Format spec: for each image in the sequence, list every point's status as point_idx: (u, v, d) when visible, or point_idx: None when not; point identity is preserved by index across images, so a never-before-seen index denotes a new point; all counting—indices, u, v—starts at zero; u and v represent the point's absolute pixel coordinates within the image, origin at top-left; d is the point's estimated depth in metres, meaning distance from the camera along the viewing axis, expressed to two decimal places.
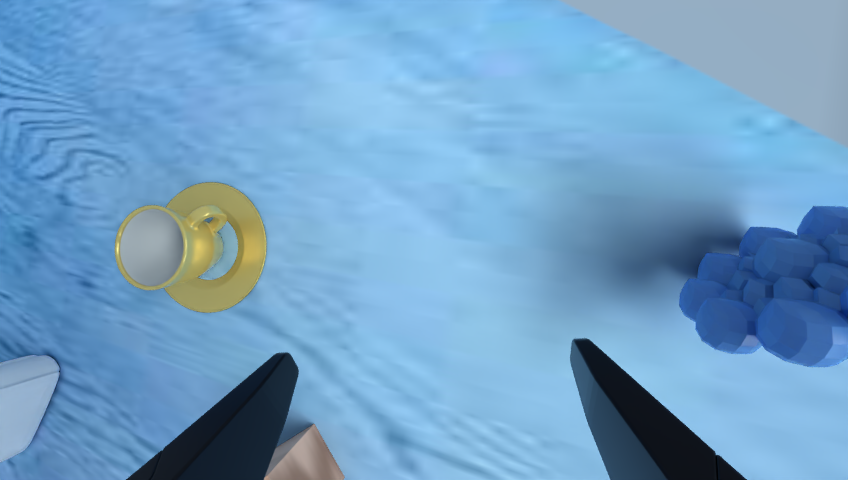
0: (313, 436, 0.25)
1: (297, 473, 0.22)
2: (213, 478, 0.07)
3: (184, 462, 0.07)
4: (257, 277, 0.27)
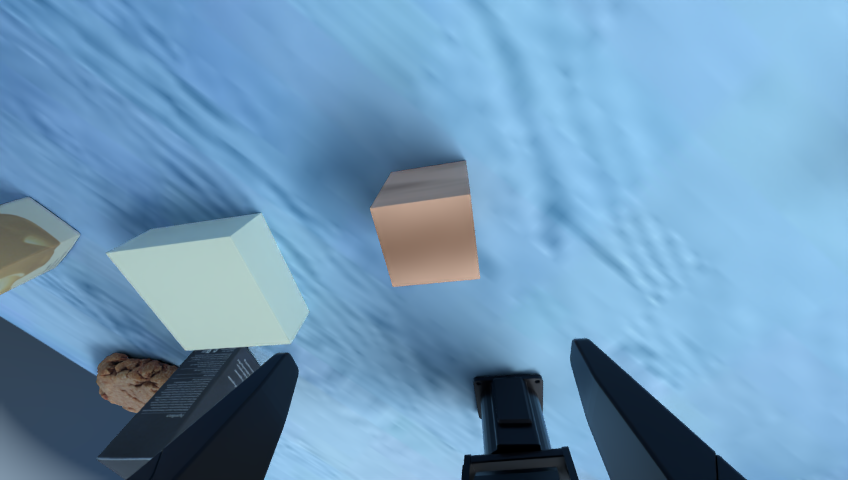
0: None
1: None
2: (213, 478, 0.07)
3: (184, 462, 0.07)
4: None
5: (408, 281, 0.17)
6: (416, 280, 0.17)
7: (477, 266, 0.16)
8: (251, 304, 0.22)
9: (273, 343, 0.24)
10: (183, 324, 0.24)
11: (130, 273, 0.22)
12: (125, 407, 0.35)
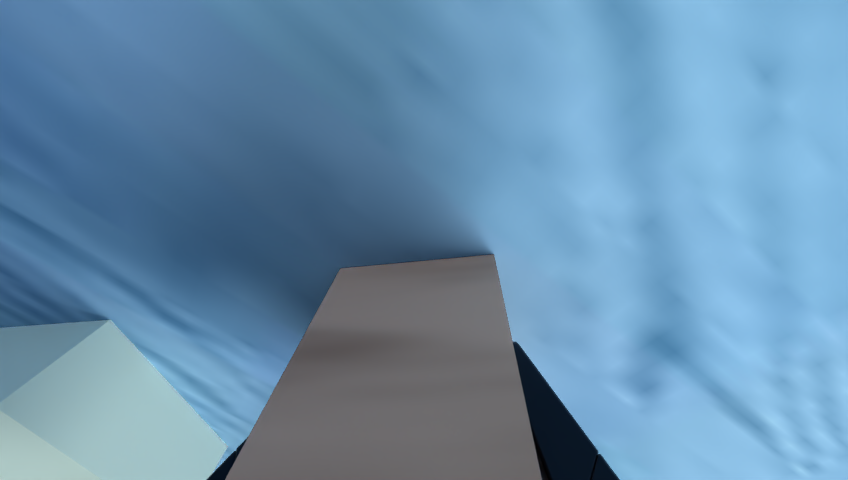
0: None
1: None
2: None
3: None
4: None
5: None
6: None
7: None
8: None
9: None
10: None
11: None
12: None
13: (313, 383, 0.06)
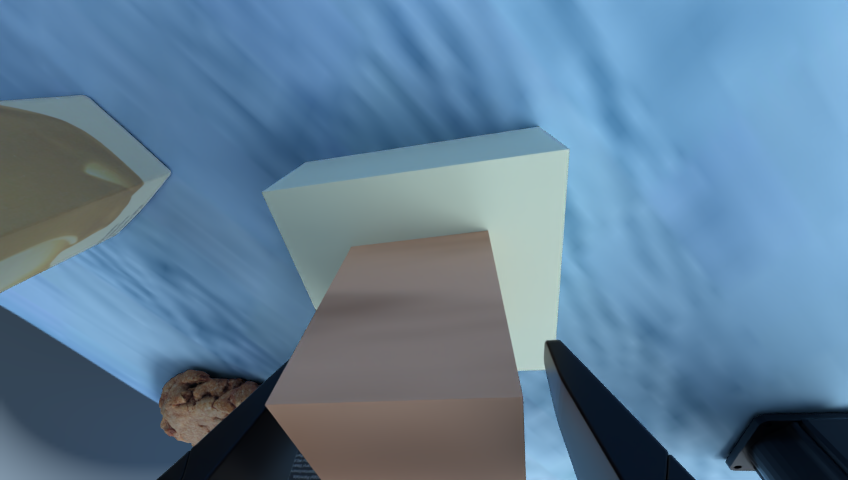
0: None
1: None
2: (241, 479, 0.07)
3: (214, 462, 0.07)
4: None
5: None
6: None
7: None
8: (522, 299, 0.12)
9: (519, 368, 0.14)
10: None
11: (299, 236, 0.11)
12: None
13: (334, 332, 0.07)
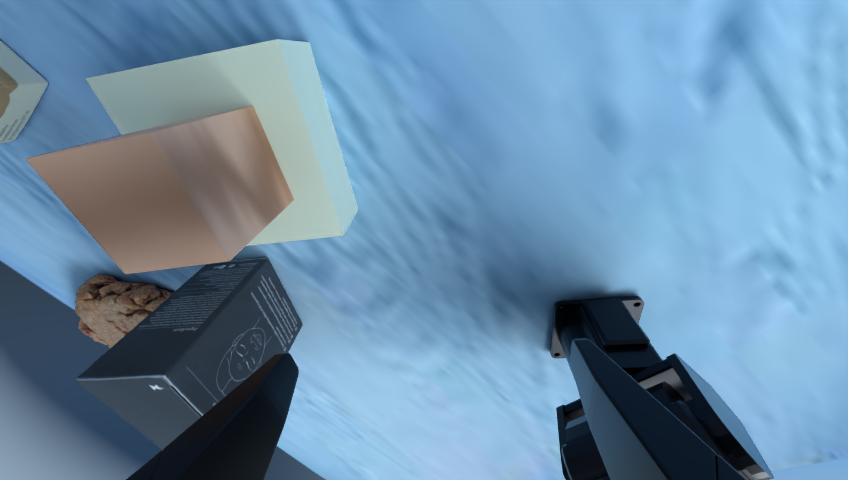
0: (250, 123, 0.14)
1: (218, 161, 0.12)
2: (213, 478, 0.07)
3: (184, 462, 0.07)
4: None
5: (140, 266, 0.12)
6: (150, 264, 0.12)
7: (217, 243, 0.12)
8: (296, 169, 0.16)
9: (319, 235, 0.18)
10: None
11: (122, 116, 0.15)
12: None
13: (97, 141, 0.12)
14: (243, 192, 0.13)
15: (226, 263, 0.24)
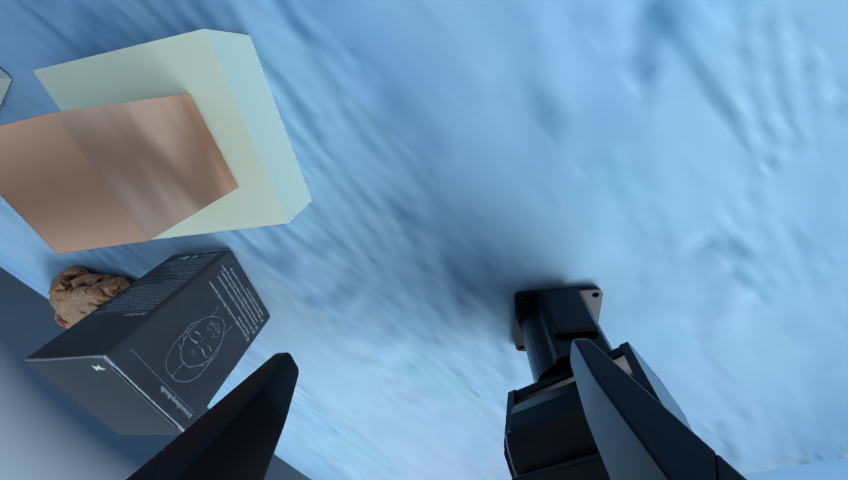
0: (184, 110, 0.15)
1: (139, 144, 0.12)
2: (213, 478, 0.07)
3: (184, 462, 0.07)
4: None
5: (69, 245, 0.13)
6: (77, 244, 0.13)
7: (134, 223, 0.12)
8: (236, 157, 0.17)
9: (265, 223, 0.19)
10: None
11: (69, 107, 0.16)
12: None
13: None
14: (171, 175, 0.14)
15: (190, 254, 0.25)
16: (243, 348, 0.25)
